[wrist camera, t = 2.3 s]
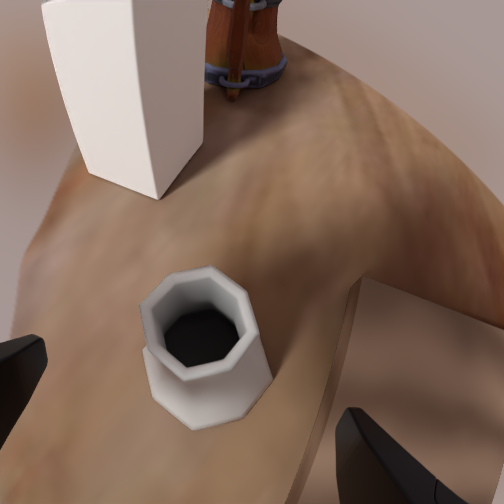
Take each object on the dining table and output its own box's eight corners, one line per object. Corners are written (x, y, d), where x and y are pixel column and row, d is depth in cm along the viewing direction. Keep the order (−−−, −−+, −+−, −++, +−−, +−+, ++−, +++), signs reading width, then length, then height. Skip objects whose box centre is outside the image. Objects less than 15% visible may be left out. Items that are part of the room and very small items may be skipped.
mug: (289, 133, 27) (329, -19, 14) (164, 122, 26) (157, -33, 13) (283, 55, 36) (303, -41, 23) (198, 47, 35) (204, -51, 22)
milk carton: (203, 143, 25) (217, -84, 9) (158, 202, 22) (131, -83, 5) (137, 123, 26) (121, -74, 9) (89, 175, 22) (33, -52, 6)
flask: (123, 345, 17) (43, 275, 8) (224, 287, 19) (236, 177, 11) (188, 450, 14) (158, 498, 6) (293, 383, 17) (375, 351, 8)
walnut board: (466, 523, 11) (482, 527, 10) (276, 522, 12) (283, 534, 11) (502, 343, 19) (518, 336, 18) (350, 288, 20) (362, 275, 19)
